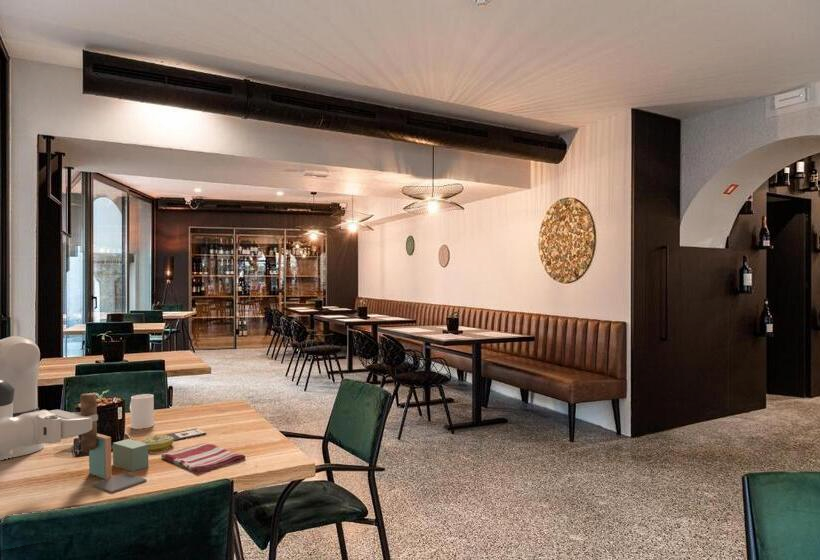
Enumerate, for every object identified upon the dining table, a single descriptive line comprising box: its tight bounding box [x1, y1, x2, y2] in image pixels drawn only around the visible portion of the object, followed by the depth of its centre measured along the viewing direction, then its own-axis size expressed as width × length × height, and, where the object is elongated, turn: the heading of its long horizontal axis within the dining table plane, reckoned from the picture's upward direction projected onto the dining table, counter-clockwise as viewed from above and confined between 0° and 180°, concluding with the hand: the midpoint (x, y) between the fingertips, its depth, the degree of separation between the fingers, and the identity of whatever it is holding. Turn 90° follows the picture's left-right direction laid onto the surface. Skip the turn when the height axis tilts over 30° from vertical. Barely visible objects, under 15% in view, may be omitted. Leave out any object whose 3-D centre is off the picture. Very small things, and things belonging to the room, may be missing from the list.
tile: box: [88, 432, 112, 480], centre depth 159 cm, size 2×9×12 cm, turn 58°
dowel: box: [80, 392, 98, 452], centre depth 156 cm, size 4×4×16 cm
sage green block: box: [112, 438, 149, 472], centre depth 167 cm, size 5×11×7 cm, turn 58°
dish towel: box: [161, 442, 246, 475], centre depth 173 cm, size 17×23×3 cm
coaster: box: [92, 472, 147, 494], centre depth 153 cm, size 10×10×1 cm
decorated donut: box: [140, 434, 175, 453], centre depth 185 cm, size 10×11×4 cm
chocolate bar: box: [165, 428, 207, 442], centre depth 197 cm, size 9×1×18 cm
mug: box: [129, 393, 155, 430], centre depth 213 cm, size 12×8×12 cm
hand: (92, 415), depth 157 cm, fingers closed on dowel, 4 cm apart
